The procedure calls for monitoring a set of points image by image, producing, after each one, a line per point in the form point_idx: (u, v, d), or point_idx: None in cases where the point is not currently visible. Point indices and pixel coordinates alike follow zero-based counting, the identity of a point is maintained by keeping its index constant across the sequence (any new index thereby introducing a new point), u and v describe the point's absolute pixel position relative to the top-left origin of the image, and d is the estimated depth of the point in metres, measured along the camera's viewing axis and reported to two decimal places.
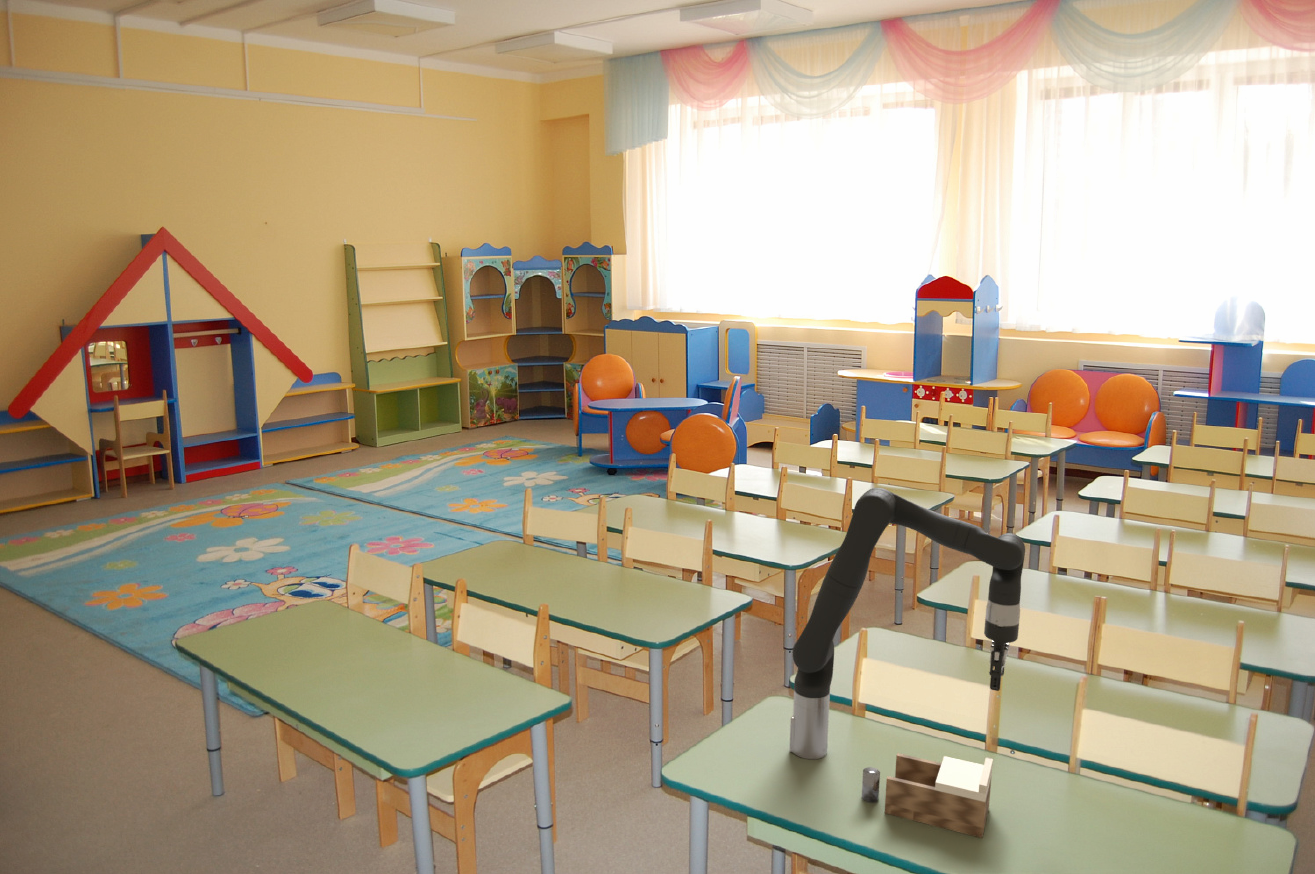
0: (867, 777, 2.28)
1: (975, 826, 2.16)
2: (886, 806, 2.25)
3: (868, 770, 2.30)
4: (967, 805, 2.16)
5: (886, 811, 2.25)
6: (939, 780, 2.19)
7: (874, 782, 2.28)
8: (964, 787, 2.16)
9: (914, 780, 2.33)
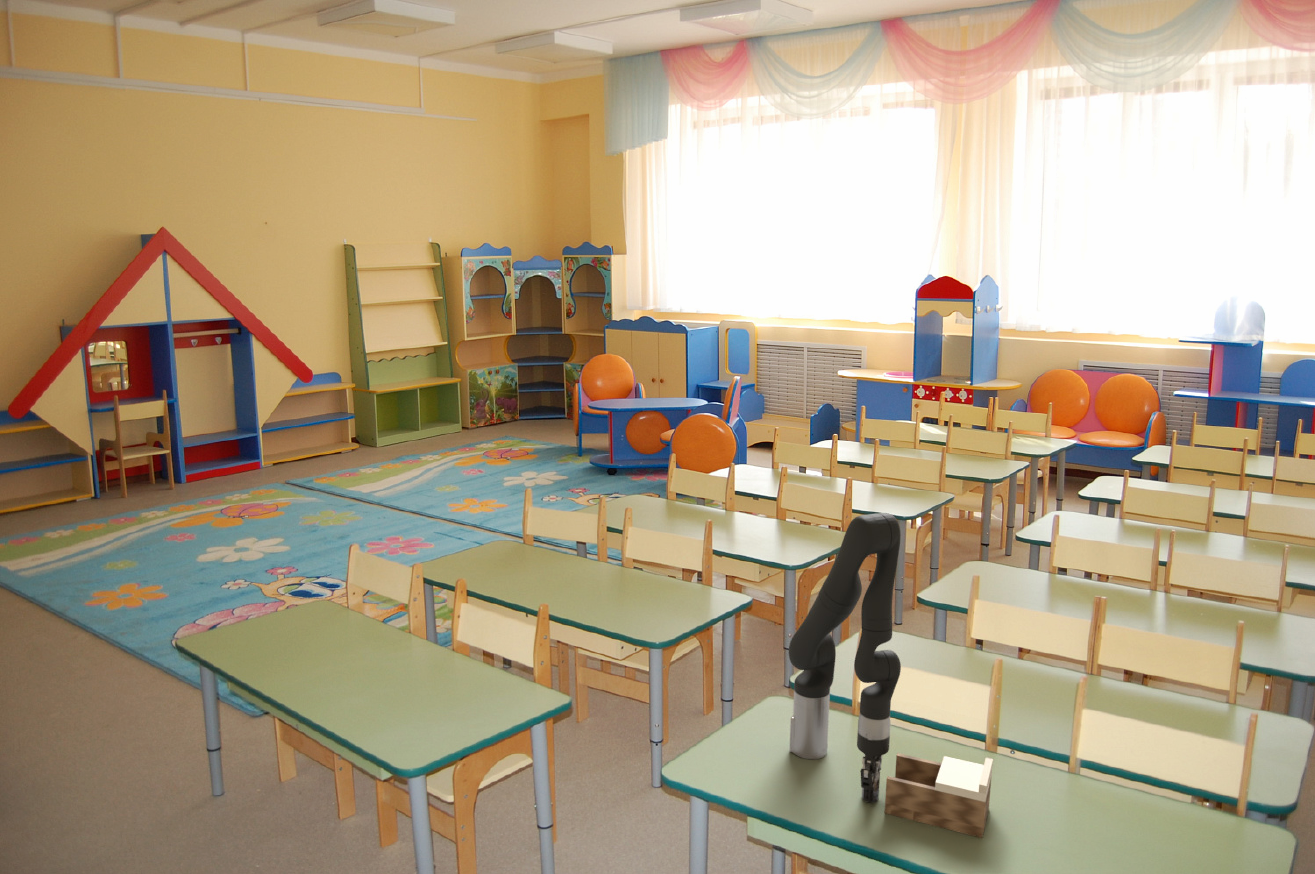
0: None
1: (975, 826, 2.16)
2: (886, 806, 2.25)
3: None
4: (967, 805, 2.16)
5: (886, 811, 2.25)
6: (939, 780, 2.19)
7: (874, 782, 2.28)
8: (964, 787, 2.16)
9: (914, 780, 2.33)
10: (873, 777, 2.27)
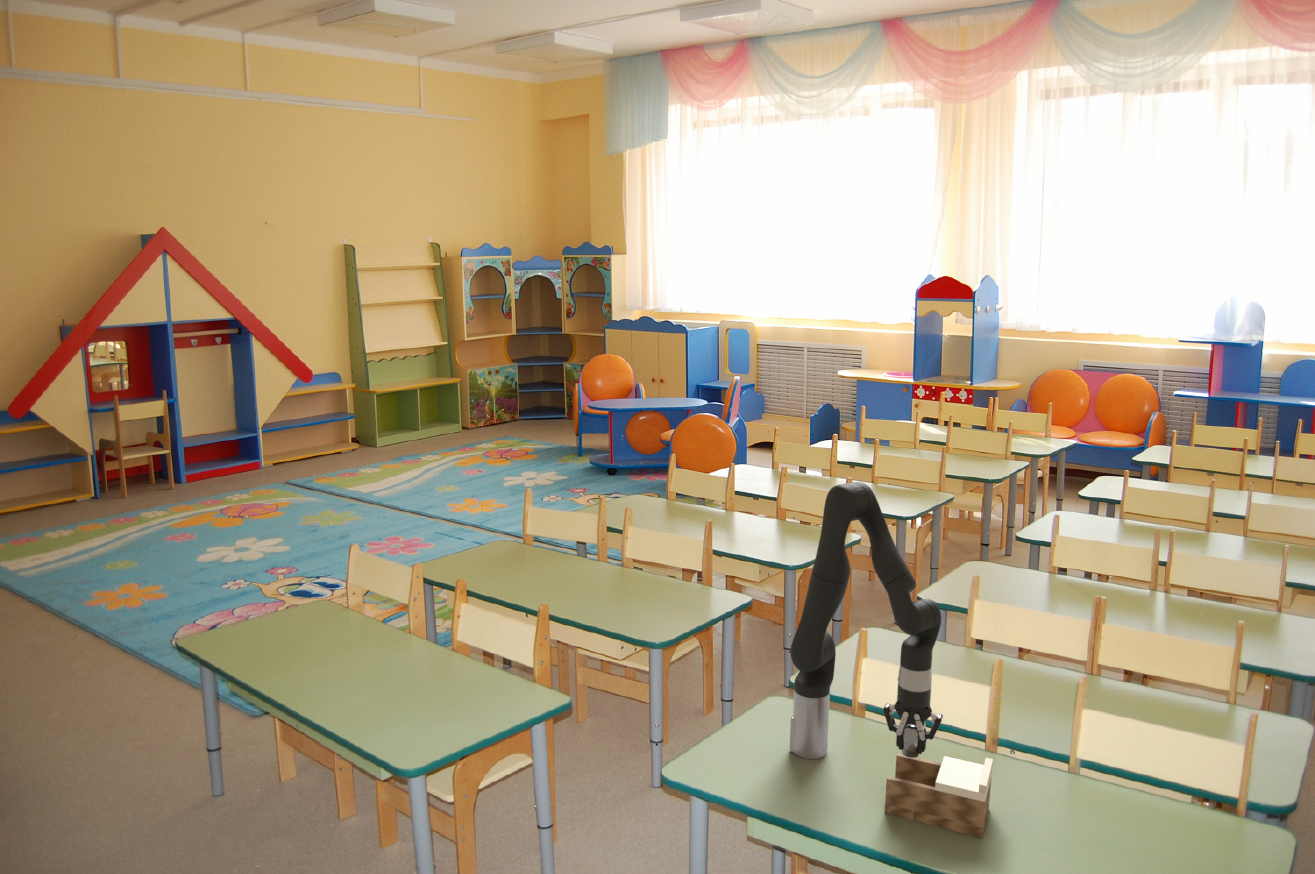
0: None
1: (975, 826, 2.16)
2: (886, 806, 2.25)
3: None
4: (967, 805, 2.16)
5: (886, 811, 2.25)
6: (939, 780, 2.19)
7: (903, 733, 2.25)
8: (964, 787, 2.16)
9: (914, 780, 2.33)
10: (899, 724, 2.25)
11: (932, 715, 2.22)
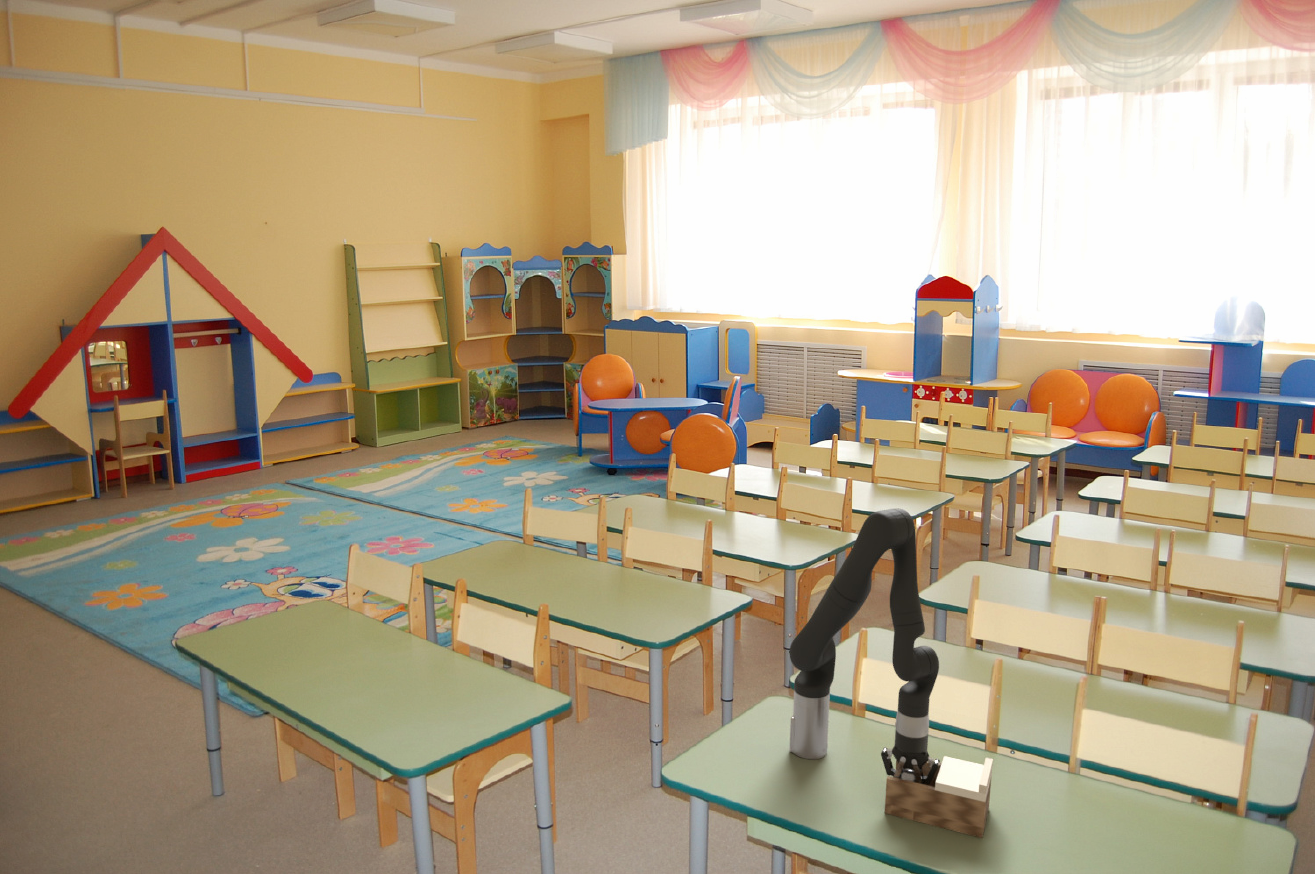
0: None
1: (975, 826, 2.16)
2: (886, 806, 2.25)
3: None
4: (967, 805, 2.16)
5: (886, 811, 2.25)
6: (939, 780, 2.19)
7: (901, 777, 2.27)
8: (964, 787, 2.16)
9: None
10: None
11: (929, 760, 2.24)
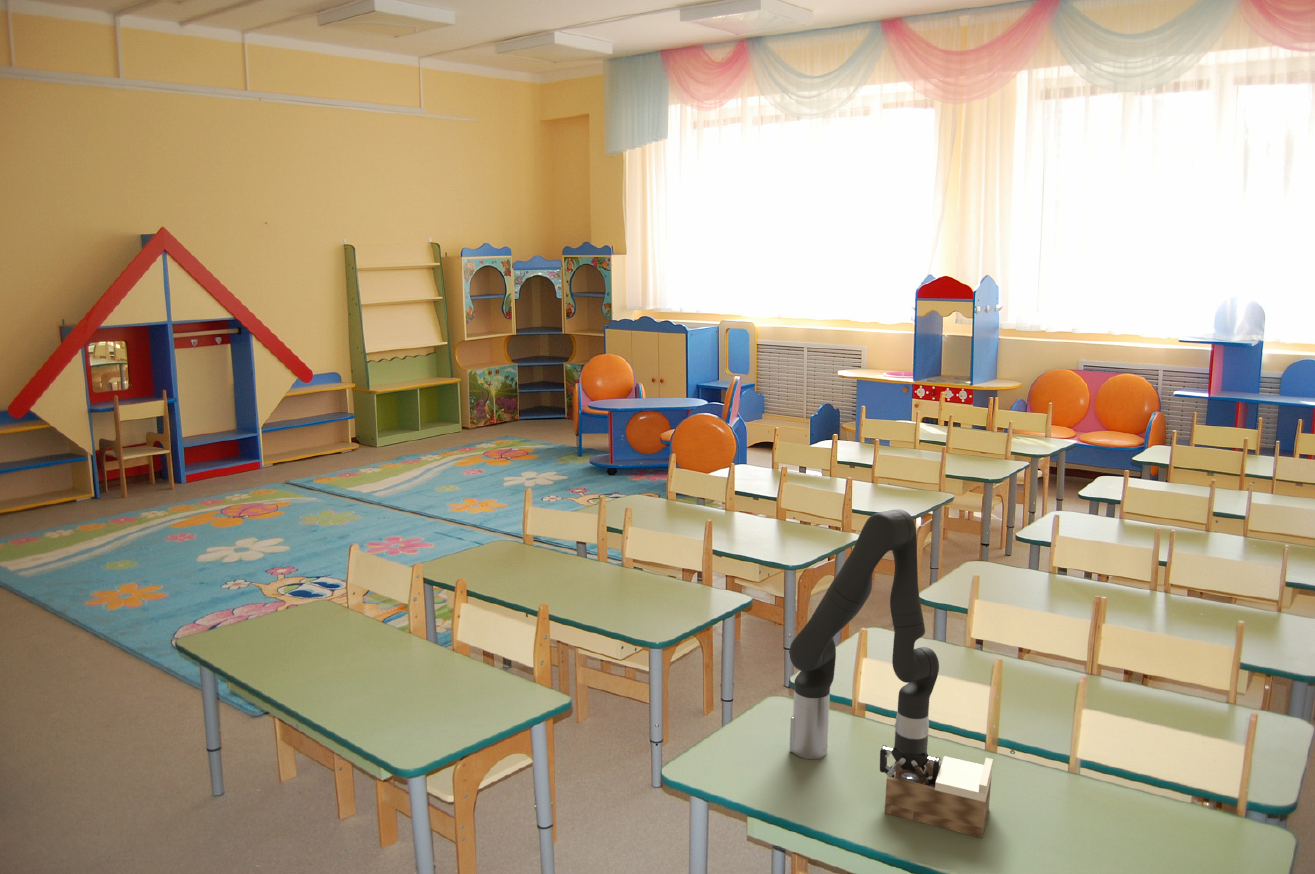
0: None
1: (975, 826, 2.16)
2: (886, 806, 2.25)
3: (911, 776, 2.28)
4: (967, 805, 2.16)
5: (886, 811, 2.25)
6: (939, 780, 2.19)
7: None
8: (964, 787, 2.16)
9: None
10: (892, 766, 2.28)
11: (929, 760, 2.24)
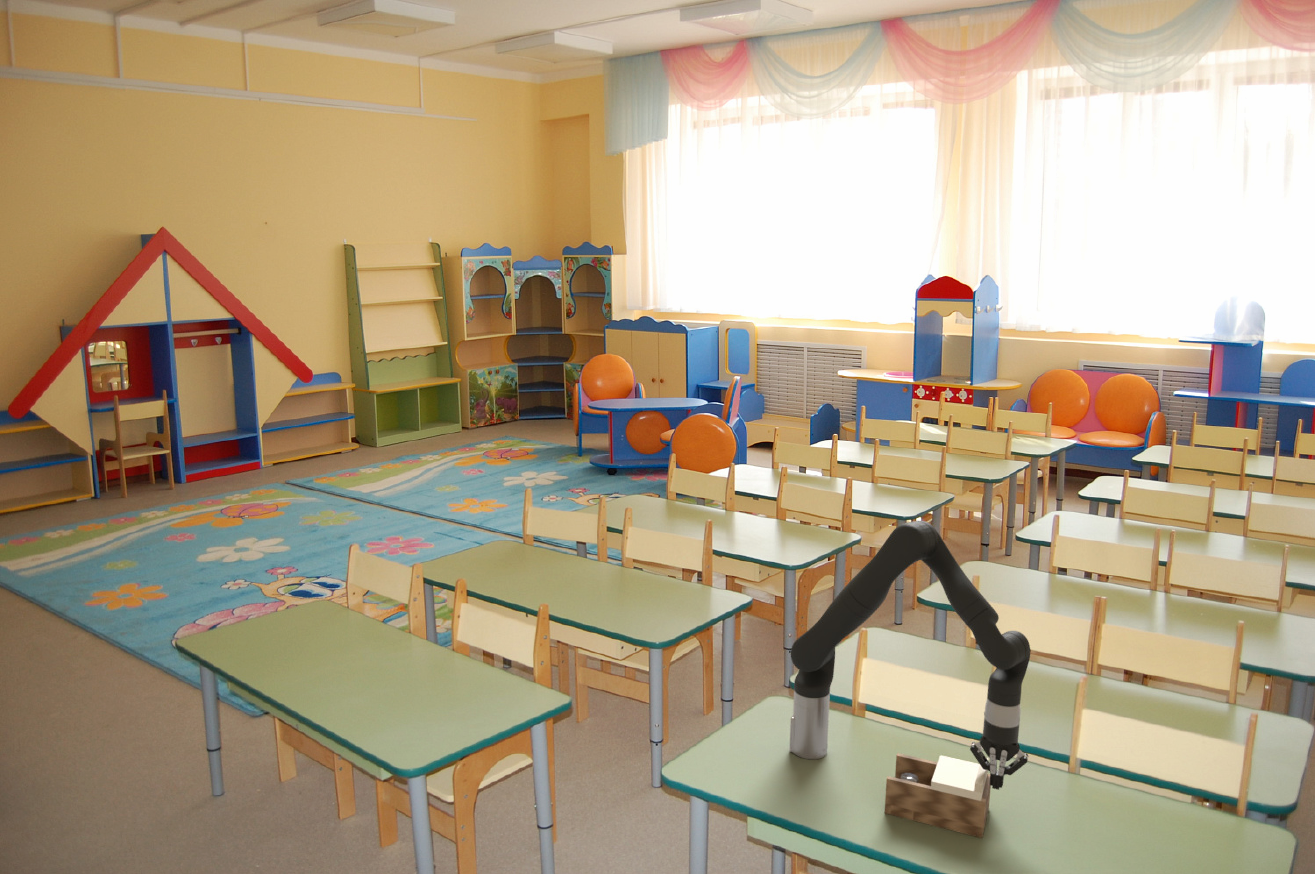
0: None
1: (975, 826, 2.16)
2: (886, 806, 2.25)
3: (911, 776, 2.28)
4: (967, 805, 2.16)
5: (886, 811, 2.25)
6: (934, 779, 2.20)
7: None
8: (959, 786, 2.17)
9: None
10: (990, 762, 2.17)
11: (1019, 753, 2.15)
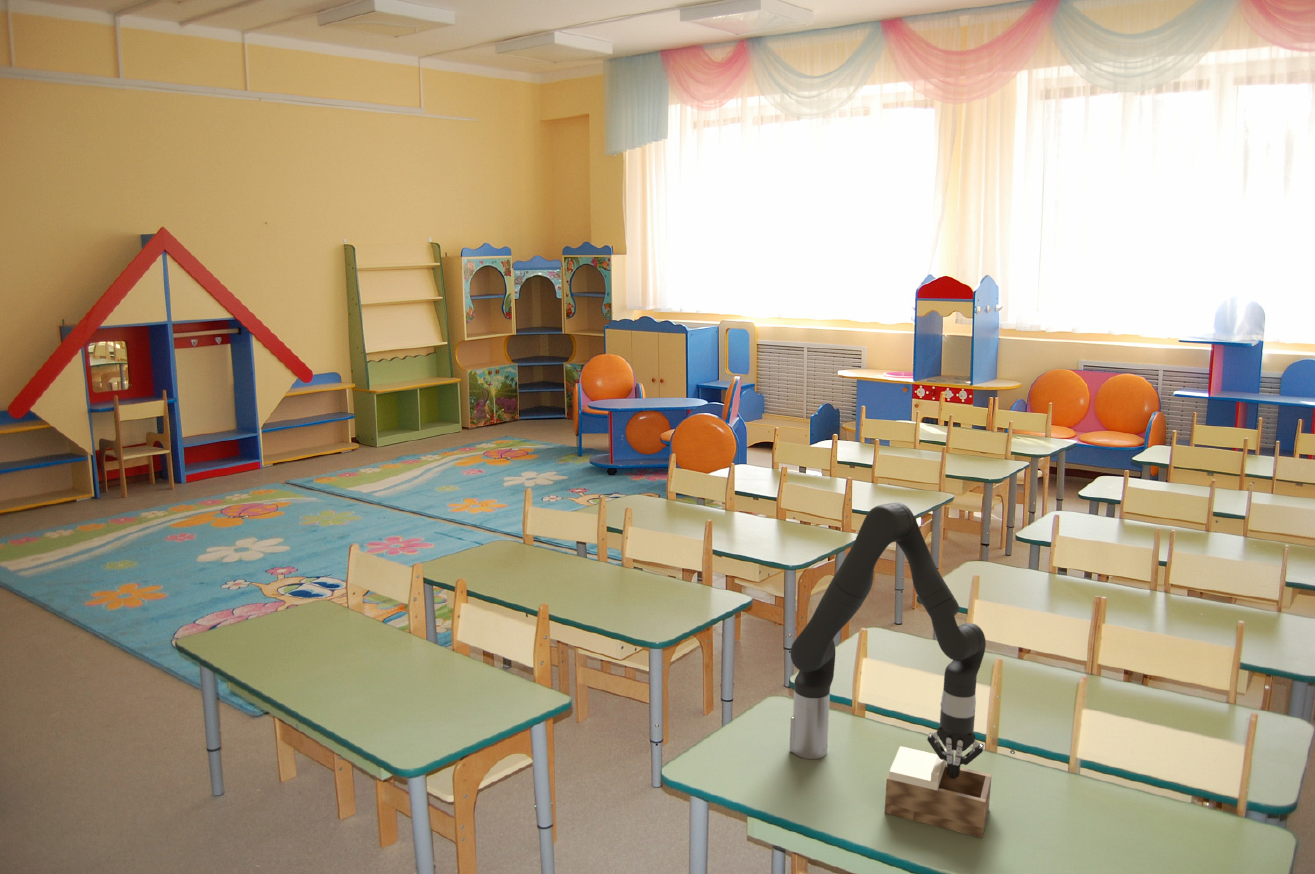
0: None
1: (975, 826, 2.16)
2: (886, 806, 2.25)
3: None
4: (967, 805, 2.16)
5: (886, 811, 2.25)
6: (893, 769, 2.23)
7: None
8: (917, 776, 2.21)
9: None
10: None
11: (974, 743, 2.19)
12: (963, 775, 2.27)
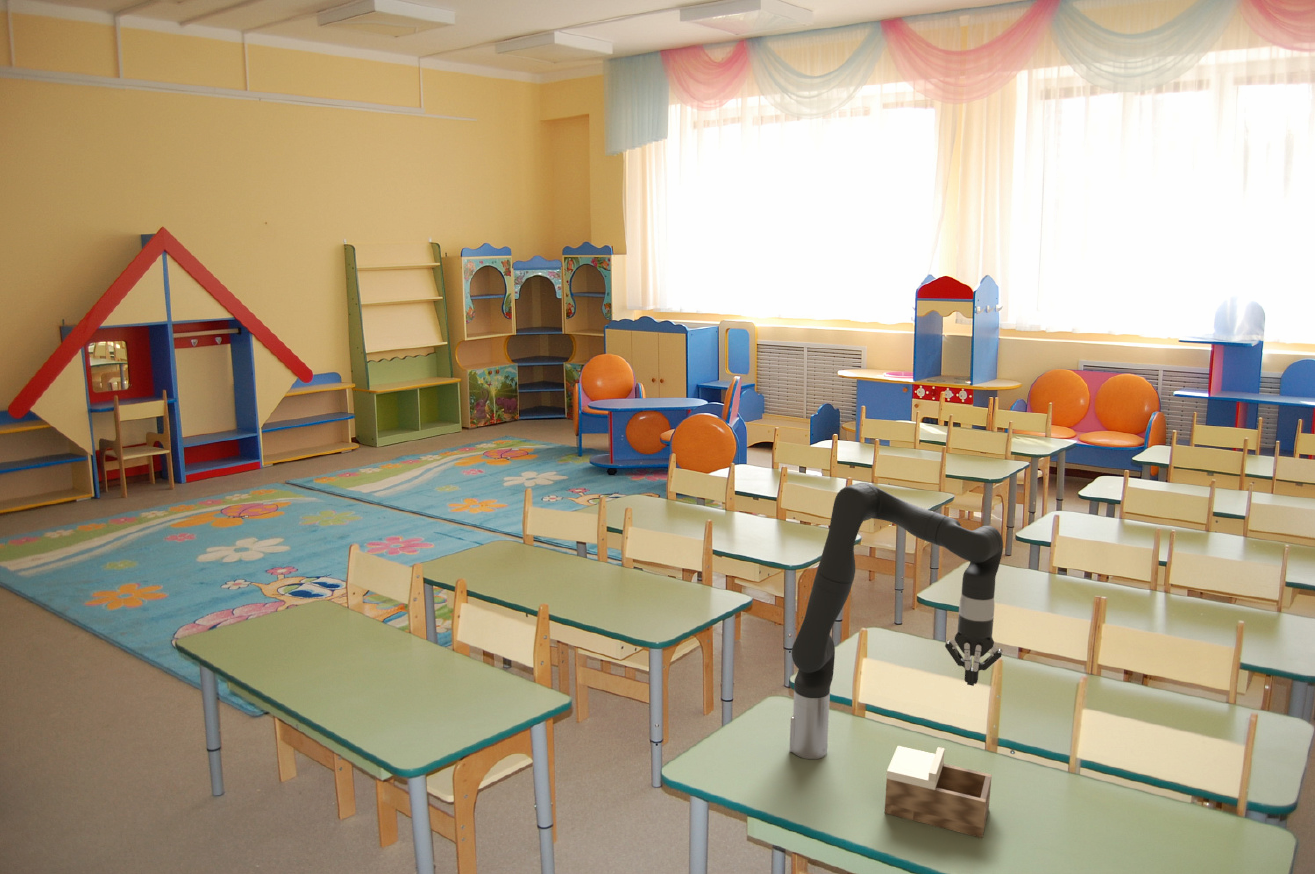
0: None
1: (975, 826, 2.16)
2: (886, 806, 2.25)
3: None
4: (967, 805, 2.16)
5: (886, 811, 2.25)
6: (890, 769, 2.24)
7: None
8: (914, 776, 2.21)
9: None
10: None
11: (993, 648, 2.16)
12: (963, 775, 2.27)
